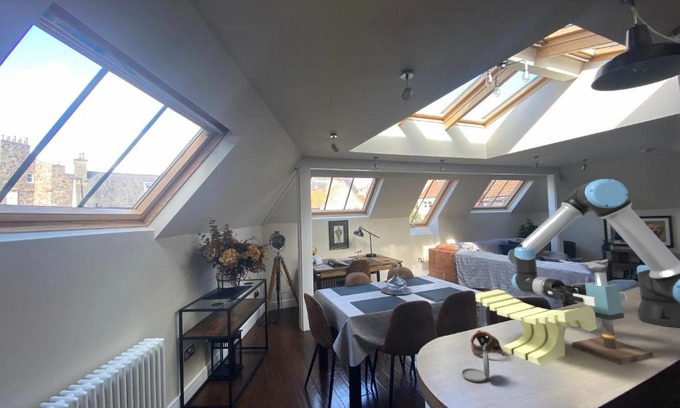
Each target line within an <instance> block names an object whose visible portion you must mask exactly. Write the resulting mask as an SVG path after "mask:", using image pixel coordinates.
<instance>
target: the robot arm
mask: <svg viewBox="0 0 680 408" xmlns="http://www.w3.org/2000/svg"><path fill="white" fill-rule="evenodd" d="M628 196H629V191H628V188H627V187H626V186H625V185H624V184H623V183H622V182H620V181H618V180H616V179H612V178H604V179H603V178H602V179H596V180H593V181H590V182H588V183H587V182H586V183H584V184H581V185H579V186H578V187H577V188H575V189H574V190H573V191H572V192H571V193H570V194H569V195H568V196H567V197H566V198H565V200H563V201H562V202H561V203H560V204H561V205H560V207H559V208H558V209H557V210H556V211H555V212H553V213H552V214H551V215H550V216H549V217H548V218H547V219H546V220H544V222H543V223H541V224H540V225H539V226H538V227H537V228H536V229H535V230H533V232H532V233H530V234H529V235H528V236H527V237H526V238H524V240H522V242H520V243H519V244H518V245H517V246H516V247H515V248H513V249H510V250H509V251H508V254H507V259H508V260H509V262H510V263H511V264H512V265H514V266H515V267H516V268H515V269H516V273H515V274H514V275H513V276H512V279H511V285H512V287H513V288H514V289H515V290H516V291H520V292H522V293H527V294H532V295H536V296H541V297H542V298H544V299H545V298H550V299H553V300H559V301H562V302H564V303H565V302H568V304H569V305H570V304H573V305H574V303H578V304H581V305H582V304H583V305H585V306H587V305H591V306H597V305H596V298H595V297H590V296H587V294H586V286H582V285H576V284H574V285H569V284H566V285H565V284H564V282H563V281H562V280H560V279H555V278H549V277H543V276H538V270H537V269H538V268H537V261H536V260H537V259H536V257H537V255H536V254H538V253H539V252H540V251H541V250H542V249H543V248H545V246H547V245H548V244H549V243H550V242H552V240H554V239H555V238H556V237H557V236H558V235H559V234H560V233H561V232H562V231H564V230H565V229H566V228H567V227H568V226H570V225H571V224H572V223H573V222H574V221H575V220H576V219H577V218H582V217H584V216H585V215H586V214H587V213H589V212H591V211H592V212H593V213H594V214H595V215H596V216H597V217H598V218H599V219H604V220H606V221H607V222H608V224H610V226H611V227H612V228H613V229H614V230H615V232H616V233H617V234H618V235H619V236H620V237H621V238H622V239H623V240H624V242H625V243H626V244H627V245H628V246H629V248H631V250H632V251H633V252H634V253H635V254H636V255H637V257H639V259H640V260H641V261H642V263H644V264H640V265H638V266H637V267H636V275H637V282H638V288H639V294H640V304H639V306H638V310H637V318H639V319H638V320H640V321H643V322H644V321H645V323H648V324H652V325H657V326H661V327H664V326H665V327H670V326H671V328H672V327H673V328H680V260H679V258H677V257H676V255H674V254H673V252H671V250H670V249H669V248H668V247H667V246H666V244H664V243H663V241H661V239H660V238H659V237H658V236H657V235H656V234H655V233H654V232H653V230H652V229H651V228H650V227H649V226H648V225H647V224H646V223H645V222H644V220H643V219H641V217H639V215H638V214H637V212H635V210H633V209H632V205H633V202H632V200H630V198H629V197H628ZM619 292H620V299H621V302H628V297H627V293H626V292H623V291H619Z"/></svg>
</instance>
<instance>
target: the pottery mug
mask: <svg viewBox="0 0 680 408" xmlns="http://www.w3.org/2000/svg"><path fill="white" fill-rule="evenodd" d="M475 340H477V341H478V343H479V345H477V344H475V343H474V341H475ZM470 342H471V343H470V344H471V345H470V346H471V352H472V355H483V352H484V350H483V348H484V346H485V343H486V346H485V348H486V350H485V351H486V352H487V353H488V354H489V353H495V351H499V352H500V353H501V355H502V356H504V355H505V354H504V351H503V350H502V348H503V347H502V346H501V344H500V342H499V340H498V338H497V337H496V336H494V335H492V334H491V333H489V331H488V332H487V331H484V330H483V331H482V330H477V331H476V332H475V333H474V334H472V336H471V338H470Z"/></svg>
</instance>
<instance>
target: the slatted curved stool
mask: <svg viewBox="0 0 680 408" xmlns="http://www.w3.org/2000/svg"><path fill="white" fill-rule="evenodd" d="M475 302H476V303H482V306H483V307H489V311H493V312H496V314H497V315H498V316H501V317H505V318H510V319H514V320H517V321H519V322H520V323H521V326H522V328H523V333H522V335H521V336H520V337H519V338H518V339H516V340H514V341H512V342H509V343H508V344H505V345H502V347H501V348H502V350H503V353H506V352H507V353H506V354H509V355H513V356H515V357H518V358H520V359H522V360H528V362H530V363H533V364H536V365H538V366H543V365H546V364H548V363H551V362H552V361H556V360H558V359H560V358H562V357H565V355H566V345H565V334H566V330H567V326H570V327H576V328H578V327H581V329H582V330H585V331H587V332H591V331H594V330H597V328H598V326H597V319H596V318H597V317H595V313H594V310H593V308H592V307H591V306H589V305H584V306H582V307H577V308H573V309H565V310H559V309H558V310H555V309H547V308H542V307H538V306H537V307H536V306H535V305H532V304H528V303H525V302H523V301H522V300H520V299H518V298H515V297H514V296H513V295H510V294H509V293H507V291H504V290H502V289H493V290H487V291H482V292H478V293H475ZM555 359H556V360H555ZM550 361H551V362H550Z"/></svg>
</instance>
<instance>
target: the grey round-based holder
mask: <svg viewBox="0 0 680 408" xmlns="http://www.w3.org/2000/svg"><path fill="white" fill-rule="evenodd" d="M485 346H486V343H485ZM485 346H484V348H483V350H484V352H483V354H482V363H483V371H482V370H481V369H478V368H471V367H470V368H465V369H462V370H461V376H462V377H463V378H464V379H466V380H467V381H470V382H475V383H482V382H485V381H487V379H488V378H490V362H489V361H490V359H489V353H487V352H486V351H485V350H486V348H485Z"/></svg>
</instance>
